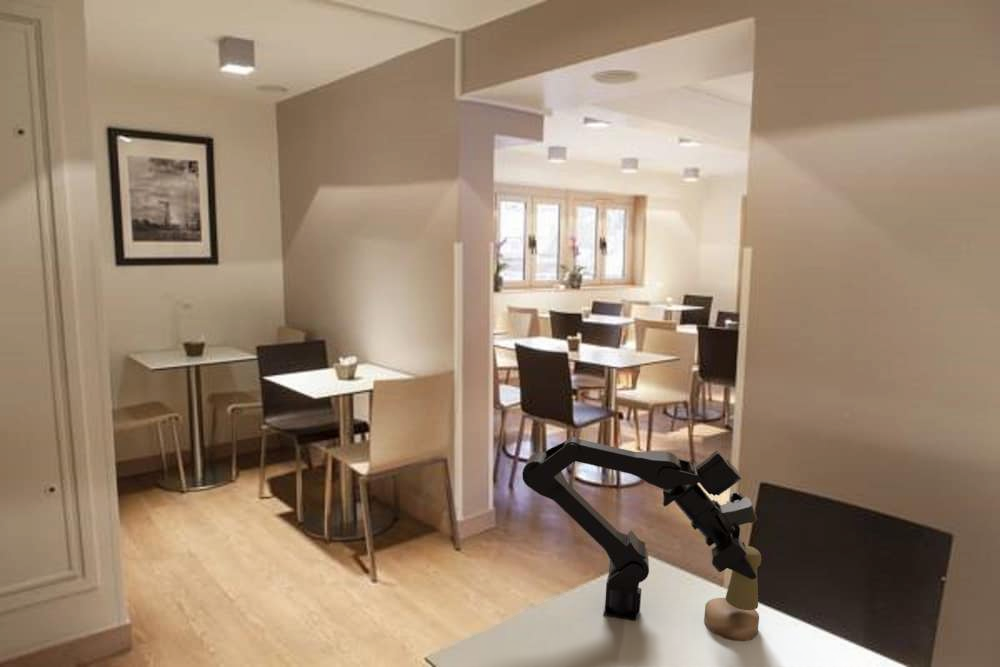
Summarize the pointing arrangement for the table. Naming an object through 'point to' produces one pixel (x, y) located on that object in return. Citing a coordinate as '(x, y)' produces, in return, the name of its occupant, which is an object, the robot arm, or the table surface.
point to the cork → (745, 584)
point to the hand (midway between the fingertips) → (752, 571)
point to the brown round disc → (730, 620)
